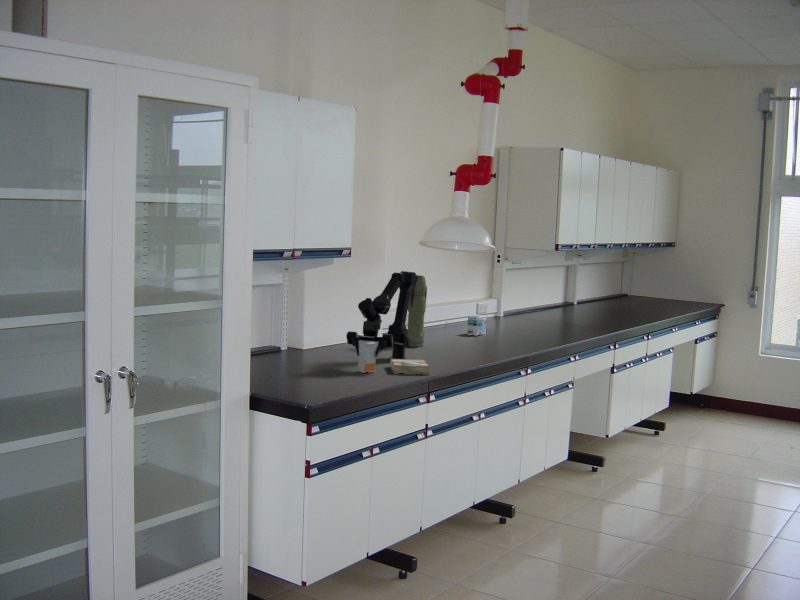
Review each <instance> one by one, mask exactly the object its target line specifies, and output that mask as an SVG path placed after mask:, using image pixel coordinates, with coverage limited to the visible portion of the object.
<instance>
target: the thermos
mask: <svg viewBox="0 0 800 600" xmlns="http://www.w3.org/2000/svg"><path fill="white" fill-rule="evenodd" d="M416 275H417V274H416ZM417 277H418V280H417V282H416V286H415V288H414V289H413V290H412V291H411V293H410V299H409V305H408V310H407V314H408V315H407V316H408V317H407V318H408V319H407V336H408V338H409V339H410V347H409V348H412V347H422V348H424V343H425V342H424V341H425V331H424V325H425V313H426V311H427V310H426V309H427V308H426V305H427V293H428V291H427V290H428V286H427V284H426V283H427V282H426V278H425V276H424V275H421V274H419V275H417Z"/></svg>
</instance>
